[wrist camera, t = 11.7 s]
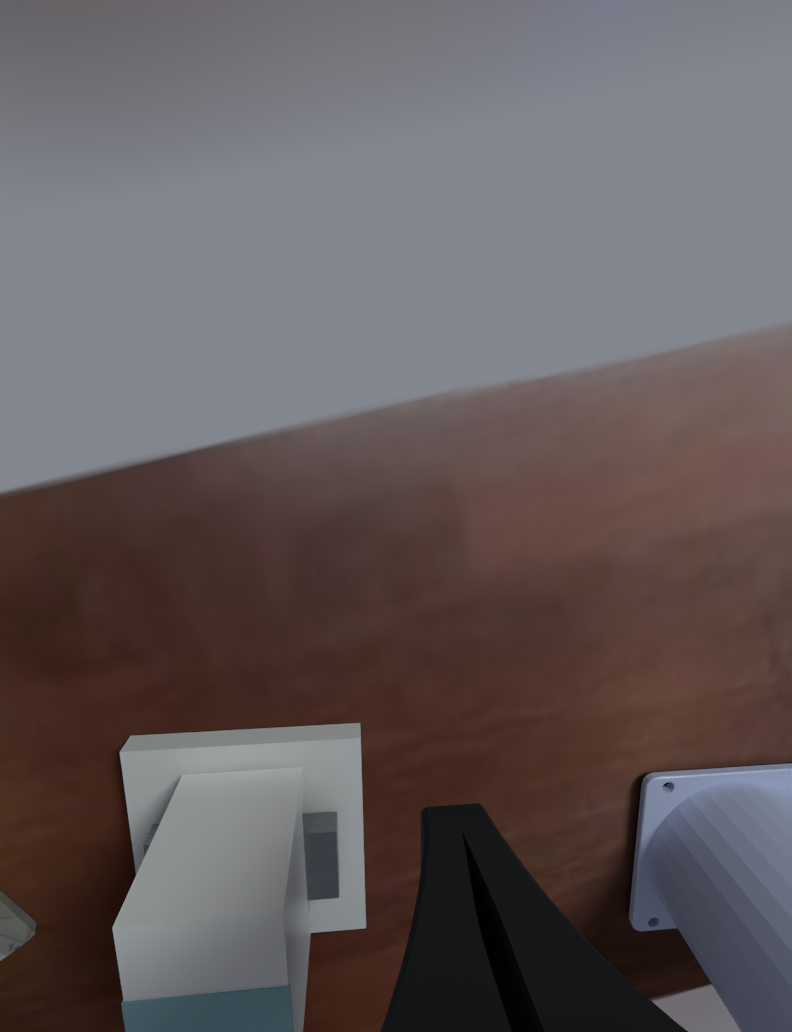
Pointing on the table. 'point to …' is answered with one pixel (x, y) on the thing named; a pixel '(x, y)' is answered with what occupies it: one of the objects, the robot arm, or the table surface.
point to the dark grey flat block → (312, 854)
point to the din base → (316, 748)
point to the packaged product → (13, 926)
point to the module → (220, 910)
